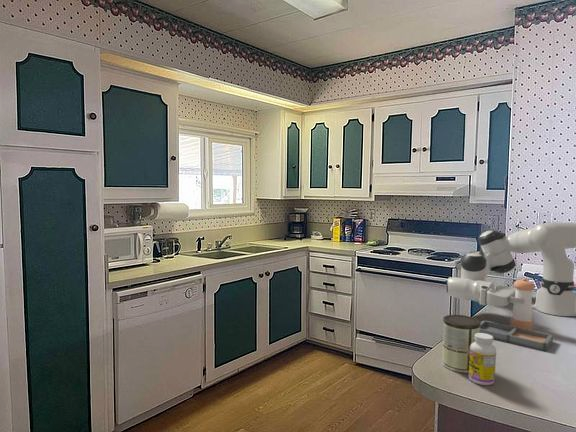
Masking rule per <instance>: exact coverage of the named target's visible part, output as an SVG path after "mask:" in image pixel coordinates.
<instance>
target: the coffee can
mask: <svg viewBox="0 0 576 432" xmlns="http://www.w3.org/2000/svg"><path fill="white" fill-rule="evenodd" d="M481 322H482V321H480V320H479V319H478V318H475V317H473V316H468V315H462V314H449V315H445V316H443V327H442V328H443V330H442V352H441V353H442V355H441V356H442V358H441V364H442V366H443V367H444V368H446V369H448V370H451V371H452V372H453V371H454V372H458V373H468V374H469V358H470V345H471V344H472V343H473V342H475V339H474V337H475V334H476V333H480V324H481Z"/></svg>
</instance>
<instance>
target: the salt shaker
mask: <svg viewBox="0 0 576 432" xmlns="http://www.w3.org/2000/svg"><path fill="white" fill-rule="evenodd" d="M513 287H514V288H516V293H515V298H523V299H524V303H523V304H520V303H513V305H512V315H511V317H510V326H514V327H519V328H523V329H528V330H533V323H534V321H533V308H532V305H533V302H532V299H533V298H532V296H533V291H534V290H535V288H536V286H535V283H533V282H532V281H530V280H528V279H527V278H522V279H518V280H516V281H514V282H513Z"/></svg>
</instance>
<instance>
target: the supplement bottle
mask: <svg viewBox="0 0 576 432" xmlns="http://www.w3.org/2000/svg"><path fill="white" fill-rule="evenodd" d="M474 339H475V342H473V343H472V344H471V345H470V358H469V373H468V374H467V375H468V376H467V377H468V378H469V380H470V381H471V382H472V383H474V384H476V385H477V384H478V385H480V386H481V385H482V386H491V385H494V383H495V379H496V378H495V377H496V366H497V365H496V364H497V363H496V361H497V348H496V346H495V345H494V344H493V342H494V339H493V336H491V335H489V334H486V333H476V334H475V337H474Z"/></svg>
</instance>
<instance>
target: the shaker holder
mask: <svg viewBox="0 0 576 432" xmlns="http://www.w3.org/2000/svg"><path fill="white" fill-rule="evenodd" d="M480 322H481V324H480V333H486V334H489V335H491V336H493V340H496V341H500V342H504V343H507V344H513V345H517V346H521V347H525V348H529V349H533V350H536V351H537V350H538V351H543V352H547V351H548V349H549V348H550V346H552V345H551V344H553V339H554V338H553V337H554V334H551V333H547V332H542V331H537V330H533V329H532V330H528V329H523V328H519V327H514V326H511V325H510V324H504V323H499V322H494V321H490V320H485V319H484V320H482V321H480Z"/></svg>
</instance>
